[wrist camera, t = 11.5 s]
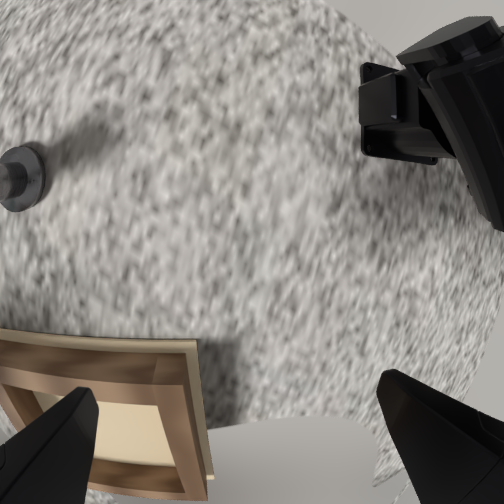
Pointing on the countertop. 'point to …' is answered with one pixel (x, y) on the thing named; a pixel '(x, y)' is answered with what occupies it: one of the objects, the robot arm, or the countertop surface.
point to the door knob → (21, 178)
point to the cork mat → (129, 415)
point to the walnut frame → (114, 391)
